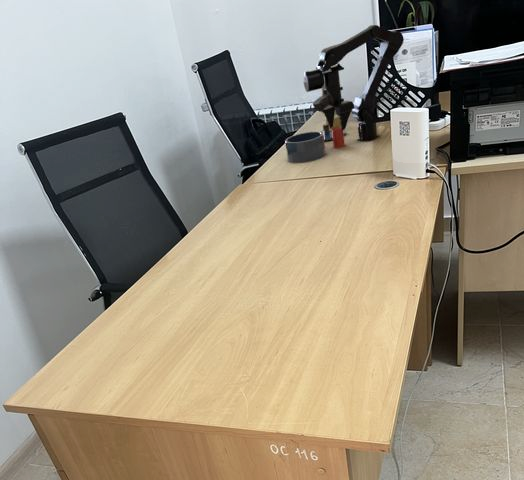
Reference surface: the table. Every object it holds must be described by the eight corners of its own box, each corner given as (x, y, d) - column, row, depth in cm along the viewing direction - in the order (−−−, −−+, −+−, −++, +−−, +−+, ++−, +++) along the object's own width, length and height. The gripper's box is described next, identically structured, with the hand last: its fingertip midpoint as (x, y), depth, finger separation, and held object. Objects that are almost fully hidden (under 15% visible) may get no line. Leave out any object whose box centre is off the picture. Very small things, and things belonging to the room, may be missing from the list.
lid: (348, 130, 236) (347, 117, 233) (342, 139, 224) (341, 126, 221) (312, 134, 241) (311, 122, 238) (305, 144, 229) (303, 131, 226)
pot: (328, 149, 216) (325, 129, 212) (321, 160, 204) (319, 139, 200) (293, 153, 220) (290, 134, 216) (284, 164, 209) (281, 144, 205)
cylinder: (346, 144, 216) (344, 126, 212) (340, 148, 213) (338, 129, 210) (337, 144, 219) (335, 126, 215) (331, 148, 216) (329, 129, 212)
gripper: (302, 89, 210) (308, 131, 218) (326, 92, 194) (331, 137, 203) (327, 82, 212) (332, 124, 221) (352, 84, 197) (356, 129, 206)
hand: (337, 128), depth 212 cm, fingers open, 9 cm apart
